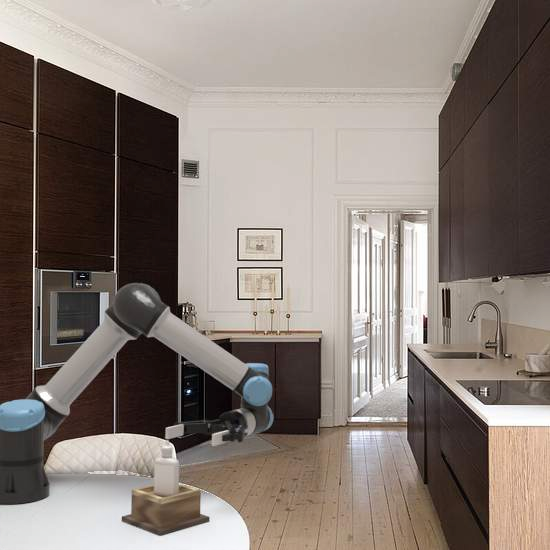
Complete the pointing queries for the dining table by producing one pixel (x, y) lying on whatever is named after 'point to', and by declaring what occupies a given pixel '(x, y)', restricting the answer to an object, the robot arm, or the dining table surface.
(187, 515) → the display pedestal
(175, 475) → the eye dropper bottle
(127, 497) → the dining table surface
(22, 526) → the dining table surface
